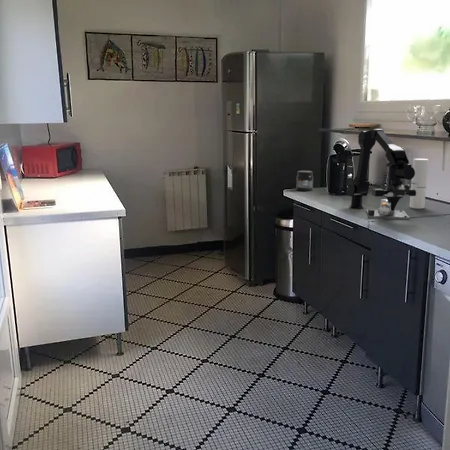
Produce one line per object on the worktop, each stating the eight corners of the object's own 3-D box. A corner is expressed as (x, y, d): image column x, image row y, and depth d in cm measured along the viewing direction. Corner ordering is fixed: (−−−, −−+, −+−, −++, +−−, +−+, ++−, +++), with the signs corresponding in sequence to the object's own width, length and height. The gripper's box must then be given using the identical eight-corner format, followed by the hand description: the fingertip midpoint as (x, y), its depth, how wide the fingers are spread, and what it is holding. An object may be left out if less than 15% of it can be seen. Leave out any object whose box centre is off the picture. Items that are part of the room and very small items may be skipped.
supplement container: (305, 188, 317) (305, 170, 314) (316, 190, 308) (317, 171, 305) (292, 189, 311) (293, 171, 308) (303, 192, 303) (304, 172, 300)
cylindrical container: (413, 205, 259) (417, 158, 254) (426, 207, 254) (431, 159, 249) (407, 207, 254) (411, 159, 249) (420, 209, 249) (424, 160, 244)
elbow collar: (380, 210, 239) (381, 198, 238) (395, 211, 236) (396, 199, 234) (374, 217, 225) (375, 203, 223) (390, 218, 222) (391, 204, 220)
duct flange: (365, 211, 244) (365, 204, 243) (403, 212, 241) (404, 205, 240) (368, 218, 229) (368, 210, 228) (409, 219, 225) (410, 212, 225)
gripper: (380, 179, 213) (378, 214, 217) (422, 179, 214) (419, 214, 217) (372, 176, 224) (370, 209, 228) (412, 176, 225) (409, 209, 228)
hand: (392, 210), depth 225 cm, fingers closed
